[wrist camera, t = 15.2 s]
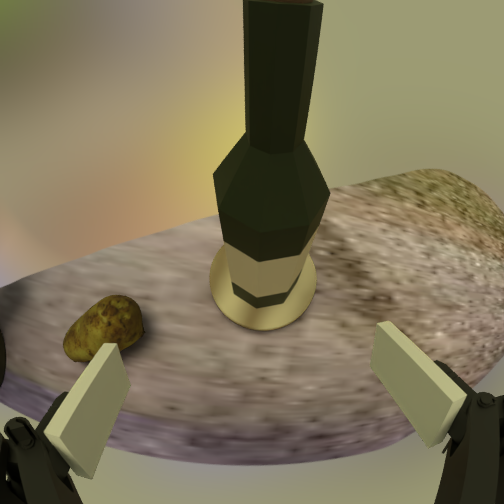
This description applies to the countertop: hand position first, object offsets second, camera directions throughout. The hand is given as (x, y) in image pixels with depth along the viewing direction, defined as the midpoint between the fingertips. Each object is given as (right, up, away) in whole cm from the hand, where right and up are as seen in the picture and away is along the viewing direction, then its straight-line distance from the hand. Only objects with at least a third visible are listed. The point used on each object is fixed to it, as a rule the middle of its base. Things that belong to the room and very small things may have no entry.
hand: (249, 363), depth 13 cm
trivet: (+2, +1, +24) cm, 24 cm away
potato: (-18, -6, +20) cm, 28 cm away
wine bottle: (+1, +2, +21) cm, 21 cm away
